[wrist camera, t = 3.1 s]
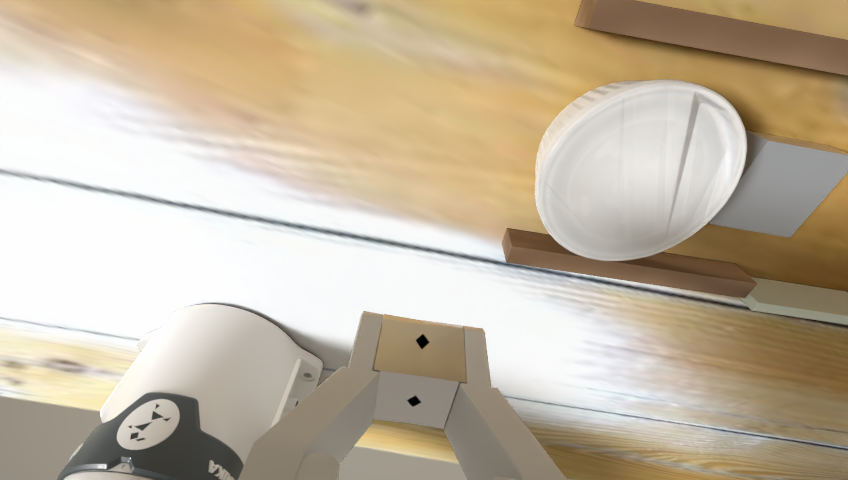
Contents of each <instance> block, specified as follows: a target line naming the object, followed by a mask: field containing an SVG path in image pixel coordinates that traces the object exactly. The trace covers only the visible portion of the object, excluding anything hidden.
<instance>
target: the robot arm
mask: <svg viewBox="0 0 848 480" xmlns="http://www.w3.org/2000/svg"><path fill="white" fill-rule="evenodd" d="M137 346H138V349H139V350H140V352H141V353H140V355H139V356H138V357H137V359H136V360H135V362H134V363H133V364H132V366H131V367H130V368H129V370H128V371H127V373H126V374H125V375H124V377H123V378H122V380H121V381H120V383H119V384H118V385H117V387H116V388H115V390H114V391H113V392H112V394H111V395H110V397H109V398H108V400H107V401H106V402H105V404H104V405H103V407H102V409H101V412H100V416H101V419H102V422H103V423H102V424H101V425H99V426H98V427H96V428H95V430H94V431H93V432H92V433H91V434H90V436H89V437H88V438H87V439H86V441H85V442H84V443H83V444H81V445H80V446H79V447H78V448H77V450H76V451H75V452H74V453H73V455H72V456H71V457H70V460H69V462H68V464H67V465H66V467H65V468H64V469H63V471H62V472H61V473H60V475H59V476H58V478H57V480H339V466H340V463H341V461H342V460H343V459H344V458H345V457H346V455H347V454H348V453H349V452H350V450H351V449H352V448H353V447H354V445H355V444H356V443H357V441H358V440H359V439H360V438H361V436H362V435H363V434H364V433H365V431H366V430H367V429H368V428H369V426H370V425H371V424H372V423H373V420H382V421H392V422H401V423H410V424H416V425H422V426H429V427H435V428H441V429H444V432H445V434H446V436H447V439H448V441H449V443H450V445H451V447H452V449H453V451H454V453H455V455H456V457H457V459H458V461H459V463H460V465H461V467H462V469H463V471H464V473H465V475H466V477H467V479H468V480H567V479H566V477H565V476H564V475H563V474H562V472H561V471H560V470H559V468H558V467H557V466H556V464H555V463H554V462H553V460H552V459H551V458H550V456H549V455H548V454H547V453H546V451H545V450H544V449H543V447H542V446H541V445H540V443H539V442H538V441H537V439H536V438H535V437H534V435H533V434H532V433H531V432H530V430H529V429H528V428H527V426H526V425H525V424H524V422H523V421H522V420H521V418H520V417H519V416H518V414H517V413H516V412H515V411H514V409H513V408H512V407H511V405H510V404H509V403H508V401H507V400H506V399H505V397H504V396H503V395H502V393H501V392H500V391H499V390H498V388H493V387H491V381H490V372H489V364H488V356H487V347H486V339H485V332H484V330H483V329H482V328H474V327H467V326H461V325H453V324H446V323H438V322H431V321H424V320H423V321H421V320H415V319H409V318H403V317H398V316H392V315H386V314H378V313H372V312H366V311H363V313H362V315H361V318H360V322H359V326H358V330H357V333H356V337H355V341H354V345H353V349H352V352H351V356H350V360H349V364H348V367H340V368H339V369H338V370H337V371H335V372H334V373H333V374H332V375H331V376H330V377H329V378H327V379H326V380H325V381H324V382H323V383H322V384H321V385H319V386H318V387H317V384H318V381H319V378H320V375H321V372H322V368H323V362H322V361H321V360H320V359H319V358H317V357H316V356H314V355H313V354H311V353H309V352H307V351H305V350H303V349H302V348H300V347H299V346H298V345H297V344H296V343H294V341H293V340H292V339H291V338H290V337H289V336H288V335H287V334H286V333H285V332H283V331H282V330H281V329H280V328H278V327H277V326H276V325H274V324H273V323H271V322H269V321H268V320H266V319H264V318H262V317H260V316H258V315H256V314H253V313H251V312H248V311H245V310H242V309H239V308H235V307H231V306H225V305H218V304H199V305H192V306H188V307H185V308H182V309H180V310H178V311H176V312H174V313H173V314H172V315H170V316H169V318H168V319H167V320H166V321H165V323H164V324H163V326H162V327H161V328H159V329H157V330H154V331H151V332H149V333H146V334H145V335H144V336H143V337H142V338H141V340H140V341H139V343H138V345H137ZM316 387H317V388H316Z"/></svg>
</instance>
